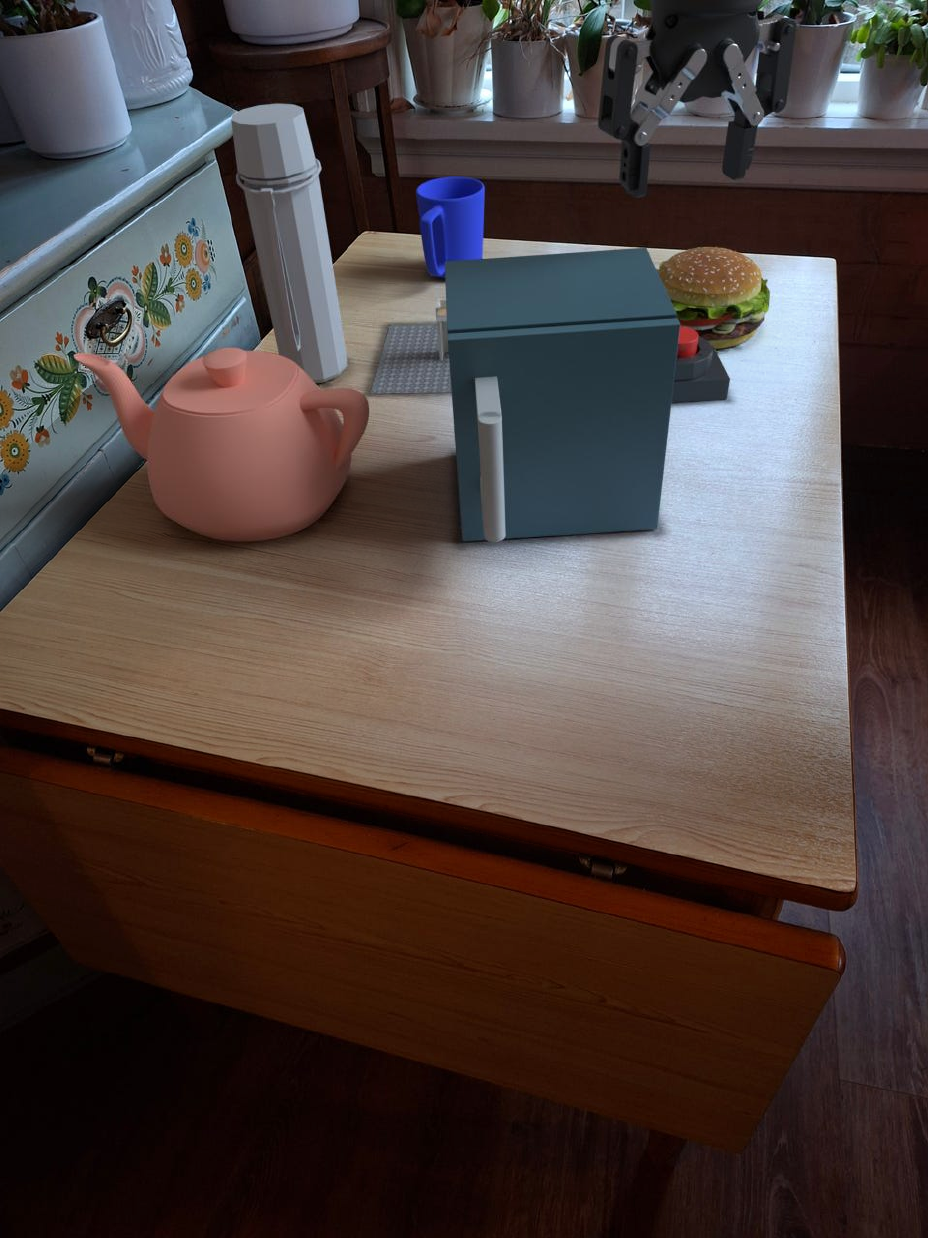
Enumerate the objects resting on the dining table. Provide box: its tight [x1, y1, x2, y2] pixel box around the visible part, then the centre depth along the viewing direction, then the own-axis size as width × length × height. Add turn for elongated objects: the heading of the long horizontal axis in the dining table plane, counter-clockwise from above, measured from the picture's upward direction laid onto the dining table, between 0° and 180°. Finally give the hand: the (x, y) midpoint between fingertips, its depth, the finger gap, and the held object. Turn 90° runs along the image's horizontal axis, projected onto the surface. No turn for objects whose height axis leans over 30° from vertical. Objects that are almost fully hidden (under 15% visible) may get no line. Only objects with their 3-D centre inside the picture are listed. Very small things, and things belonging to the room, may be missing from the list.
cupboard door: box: [448, 318, 680, 543], centre depth 66 cm, size 7×16×18 cm, turn 92°
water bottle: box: [230, 103, 348, 384], centre depth 88 cm, size 9×8×25 cm
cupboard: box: [444, 247, 677, 334], centre depth 74 cm, size 12×16×18 cm
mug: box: [415, 176, 486, 279], centre depth 110 cm, size 8×12×10 cm
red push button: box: [677, 327, 698, 358], centre depth 88 cm, size 4×4×2 cm
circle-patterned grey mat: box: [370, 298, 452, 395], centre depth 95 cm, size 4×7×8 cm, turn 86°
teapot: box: [73, 347, 370, 542], centre depth 77 cm, size 25×17×13 cm
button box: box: [671, 336, 731, 404], centre depth 90 cm, size 9×7×4 cm
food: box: [656, 246, 771, 350], centre depth 97 cm, size 14×14×8 cm
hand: (684, 185), depth 70 cm, fingers open, 8 cm apart
